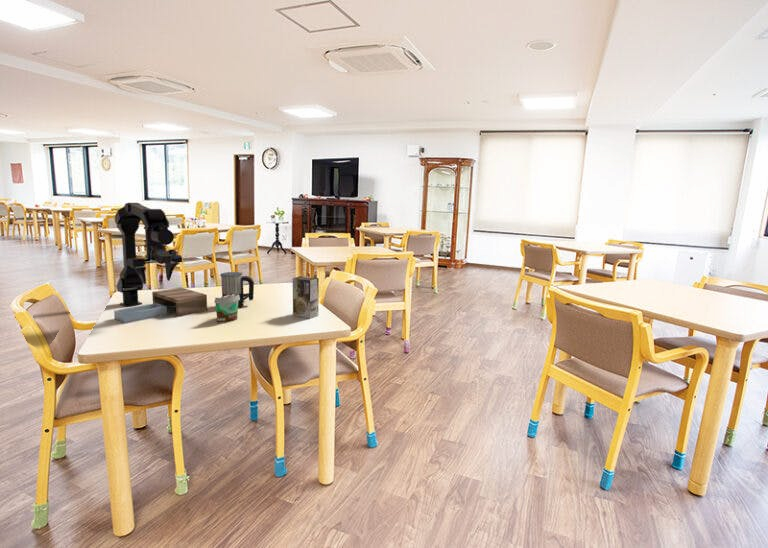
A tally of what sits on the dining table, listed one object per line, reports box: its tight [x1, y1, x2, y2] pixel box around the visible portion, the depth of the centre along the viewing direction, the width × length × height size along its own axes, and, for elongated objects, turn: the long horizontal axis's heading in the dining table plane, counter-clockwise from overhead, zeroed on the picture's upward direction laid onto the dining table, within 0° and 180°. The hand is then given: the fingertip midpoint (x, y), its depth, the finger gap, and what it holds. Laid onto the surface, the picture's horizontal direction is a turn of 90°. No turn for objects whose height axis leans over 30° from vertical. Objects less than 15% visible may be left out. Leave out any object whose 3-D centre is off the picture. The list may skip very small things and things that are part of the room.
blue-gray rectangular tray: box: [113, 302, 168, 324], centre depth 166 cm, size 8×16×4 cm, turn 145°
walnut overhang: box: [151, 286, 208, 318], centre depth 178 cm, size 20×12×7 cm, turn 55°
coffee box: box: [292, 275, 320, 319], centre depth 176 cm, size 9×6×16 cm
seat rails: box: [165, 302, 176, 309], centre depth 180 cm, size 14×8×2 cm, turn 55°
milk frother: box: [219, 271, 255, 309], centre depth 190 cm, size 14×16×15 cm
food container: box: [214, 292, 240, 323], centre depth 167 cm, size 12×6×10 cm, turn 168°
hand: (156, 282), depth 164 cm, fingers open, 9 cm apart
